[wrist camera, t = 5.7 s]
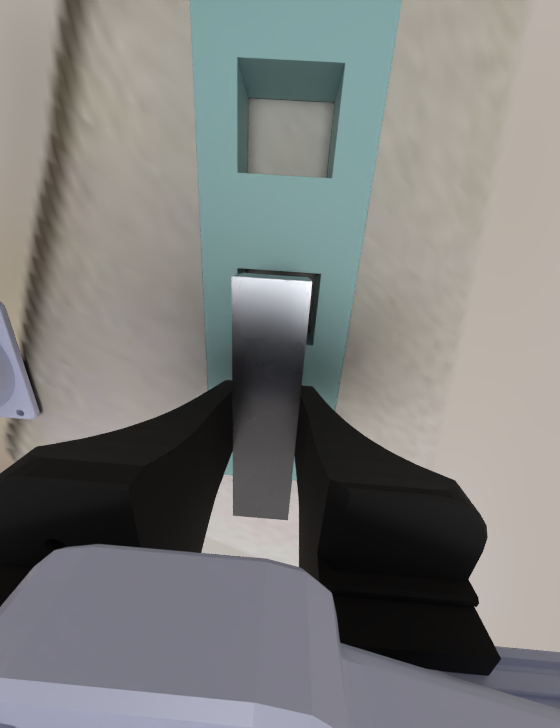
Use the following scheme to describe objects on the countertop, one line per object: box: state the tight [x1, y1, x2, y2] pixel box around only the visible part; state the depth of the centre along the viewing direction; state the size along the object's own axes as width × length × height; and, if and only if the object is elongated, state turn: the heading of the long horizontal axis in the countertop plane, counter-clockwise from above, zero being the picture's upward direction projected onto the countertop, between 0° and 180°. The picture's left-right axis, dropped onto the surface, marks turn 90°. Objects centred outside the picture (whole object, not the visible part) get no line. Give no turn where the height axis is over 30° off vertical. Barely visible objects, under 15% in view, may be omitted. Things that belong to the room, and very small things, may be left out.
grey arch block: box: [231, 273, 312, 520], centre depth 12 cm, size 2×10×5 cm, turn 176°
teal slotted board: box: [190, 0, 402, 480], centre depth 14 cm, size 21×7×2 cm, turn 177°
